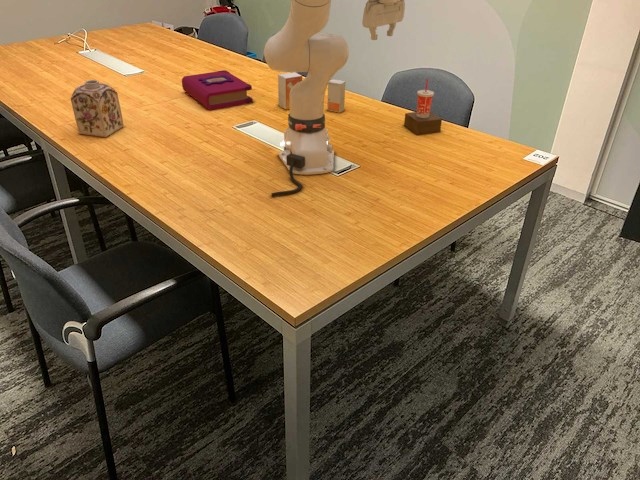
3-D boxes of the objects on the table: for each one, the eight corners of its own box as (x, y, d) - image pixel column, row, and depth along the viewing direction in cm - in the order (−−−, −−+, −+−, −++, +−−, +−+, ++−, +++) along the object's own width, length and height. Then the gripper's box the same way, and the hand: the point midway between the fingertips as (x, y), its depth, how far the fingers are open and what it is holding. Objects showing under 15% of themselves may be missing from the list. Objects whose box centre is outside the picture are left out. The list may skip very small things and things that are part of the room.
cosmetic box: (326, 110, 216) (327, 81, 209) (331, 107, 219) (332, 78, 212) (340, 113, 213) (341, 83, 207) (344, 110, 216) (345, 81, 210)
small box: (285, 110, 215) (285, 78, 208) (278, 105, 220) (277, 74, 212) (302, 106, 219) (302, 75, 212) (294, 102, 223) (294, 71, 216)
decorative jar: (125, 126, 197) (115, 78, 187) (106, 138, 188) (95, 87, 178) (97, 123, 200) (86, 75, 190) (77, 134, 190) (65, 84, 180)
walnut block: (440, 131, 198) (442, 119, 195) (416, 135, 195) (418, 122, 192) (426, 122, 206) (428, 110, 203) (403, 125, 203) (405, 113, 200)
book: (207, 111, 213) (205, 92, 209) (183, 92, 233) (180, 75, 228) (253, 102, 222) (252, 84, 218) (226, 85, 242) (225, 68, 238)
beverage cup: (430, 113, 200) (435, 76, 192) (431, 119, 195) (436, 81, 187) (414, 112, 200) (418, 75, 193) (415, 118, 195) (419, 80, 188)
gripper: (374, 0, 175) (371, 43, 182) (409, -6, 187) (405, 35, 195) (359, -2, 178) (357, 40, 186) (394, -8, 191) (391, 32, 198)
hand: (382, 37), depth 190 cm, fingers open, 8 cm apart
